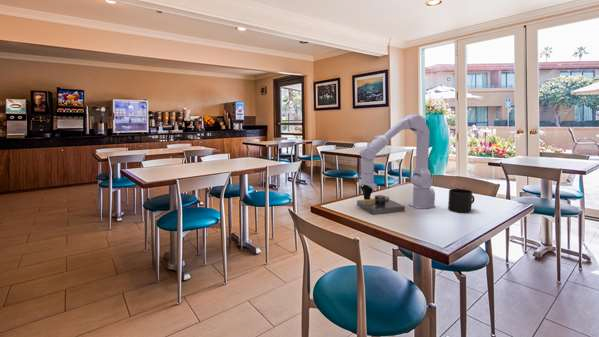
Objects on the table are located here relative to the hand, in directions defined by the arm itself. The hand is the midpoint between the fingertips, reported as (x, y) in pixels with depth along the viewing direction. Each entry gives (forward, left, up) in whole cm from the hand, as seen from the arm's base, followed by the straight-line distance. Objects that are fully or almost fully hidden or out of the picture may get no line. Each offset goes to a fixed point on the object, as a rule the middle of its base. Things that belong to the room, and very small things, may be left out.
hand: (367, 201), depth 150 cm
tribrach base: (-6, +2, -4) cm, 7 cm away
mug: (-40, +16, -4) cm, 43 cm away
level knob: (-3, +1, -1) cm, 4 cm away
